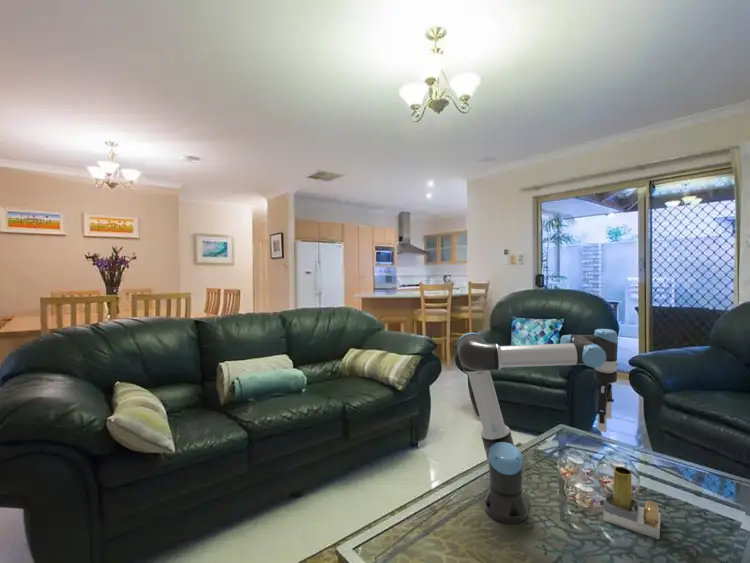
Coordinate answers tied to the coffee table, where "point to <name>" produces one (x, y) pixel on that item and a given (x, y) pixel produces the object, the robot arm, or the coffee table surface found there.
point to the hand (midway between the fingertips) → (604, 424)
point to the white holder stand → (634, 516)
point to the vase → (622, 488)
